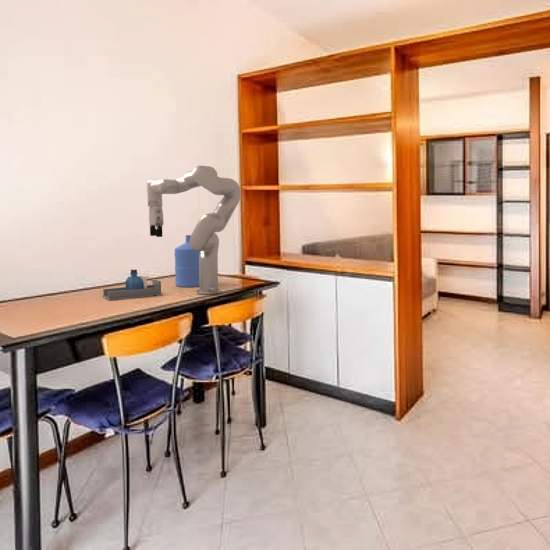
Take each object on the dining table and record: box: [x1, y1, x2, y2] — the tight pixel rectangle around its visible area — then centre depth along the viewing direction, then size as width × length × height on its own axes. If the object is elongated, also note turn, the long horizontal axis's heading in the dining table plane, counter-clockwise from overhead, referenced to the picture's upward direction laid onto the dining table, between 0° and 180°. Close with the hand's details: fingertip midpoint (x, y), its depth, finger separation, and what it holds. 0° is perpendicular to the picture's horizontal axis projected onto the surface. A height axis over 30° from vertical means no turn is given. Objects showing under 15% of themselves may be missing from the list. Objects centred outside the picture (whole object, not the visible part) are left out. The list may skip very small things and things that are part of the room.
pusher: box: [139, 274, 150, 288], centre depth 261 cm, size 7×2×8 cm, turn 32°
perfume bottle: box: [124, 269, 144, 290], centre depth 258 cm, size 6×6×12 cm
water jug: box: [174, 234, 200, 288], centre depth 289 cm, size 16×16×28 cm
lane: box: [102, 278, 163, 301], centre depth 258 cm, size 12×26×7 cm, turn 122°
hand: (156, 236), depth 276 cm, fingers open, 9 cm apart
